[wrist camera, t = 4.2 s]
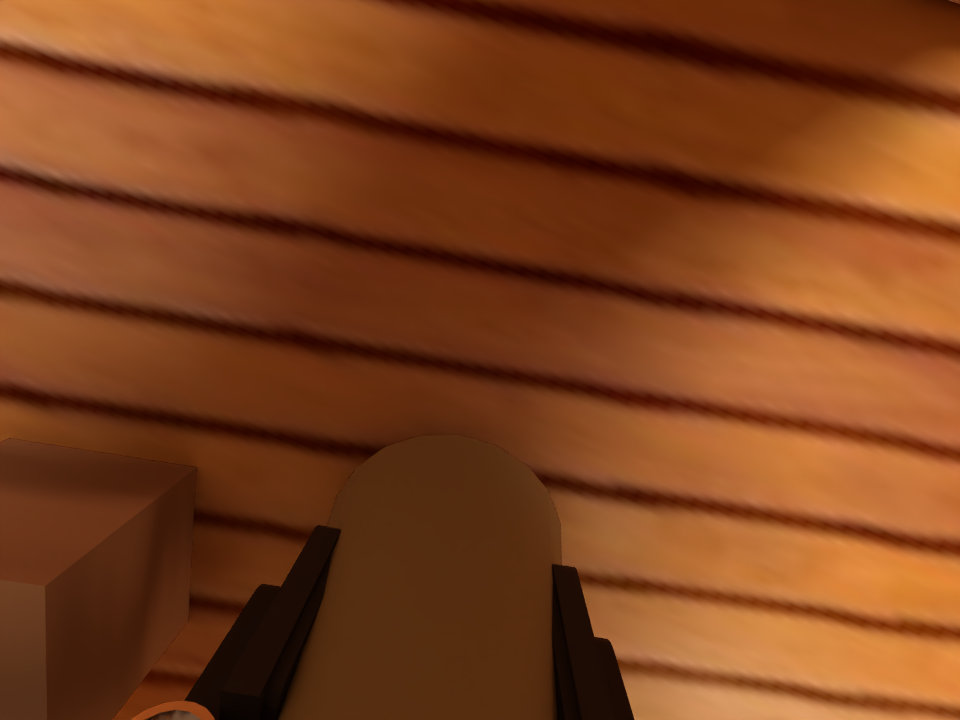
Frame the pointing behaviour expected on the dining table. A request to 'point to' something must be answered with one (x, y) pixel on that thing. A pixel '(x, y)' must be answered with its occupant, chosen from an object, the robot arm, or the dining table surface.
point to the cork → (435, 591)
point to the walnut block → (88, 576)
